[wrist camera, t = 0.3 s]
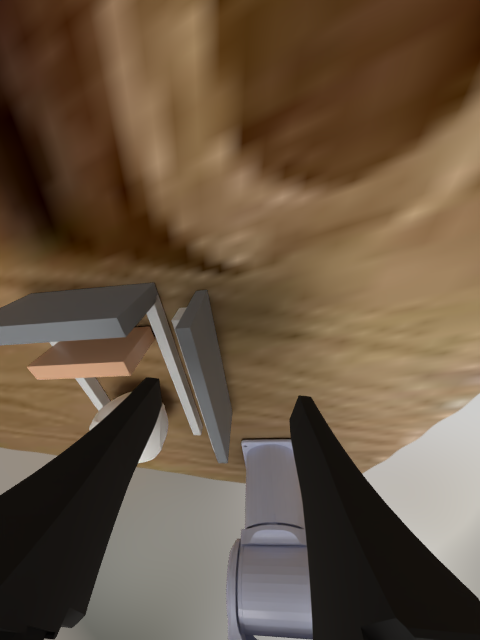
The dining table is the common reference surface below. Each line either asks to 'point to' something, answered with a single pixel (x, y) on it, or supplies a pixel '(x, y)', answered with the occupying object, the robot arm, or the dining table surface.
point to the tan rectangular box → (93, 357)
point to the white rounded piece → (157, 434)
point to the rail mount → (118, 321)
